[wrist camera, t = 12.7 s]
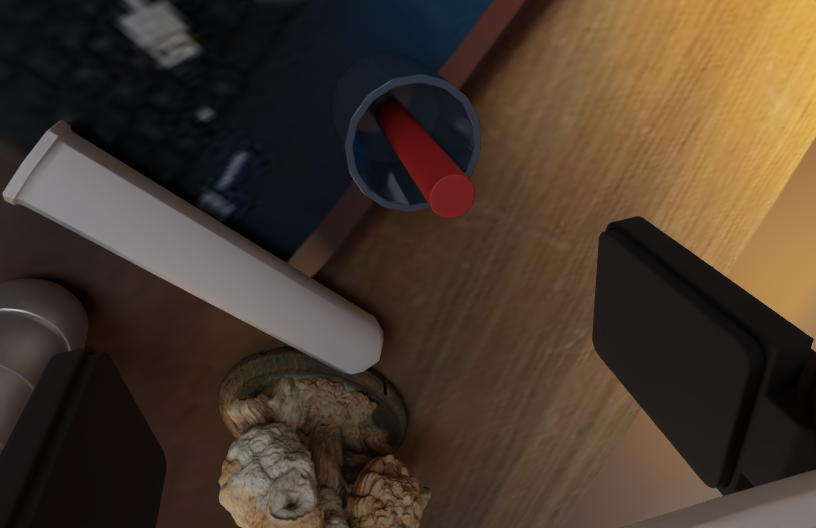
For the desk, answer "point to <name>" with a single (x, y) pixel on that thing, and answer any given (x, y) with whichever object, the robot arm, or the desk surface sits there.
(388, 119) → the red cylindrical rod
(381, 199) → the tumbler
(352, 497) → the owl figurine
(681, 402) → the robot arm
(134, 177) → the tube
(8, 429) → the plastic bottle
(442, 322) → the desk surface
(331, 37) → the desk surface
